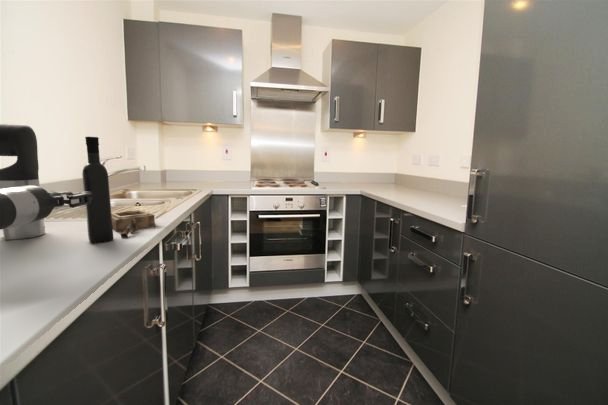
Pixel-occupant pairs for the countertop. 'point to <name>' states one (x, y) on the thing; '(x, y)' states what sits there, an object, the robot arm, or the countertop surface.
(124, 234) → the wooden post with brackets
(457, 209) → the countertop surface
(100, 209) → the wine bottle
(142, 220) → the square wooden picture frame
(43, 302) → the countertop surface
